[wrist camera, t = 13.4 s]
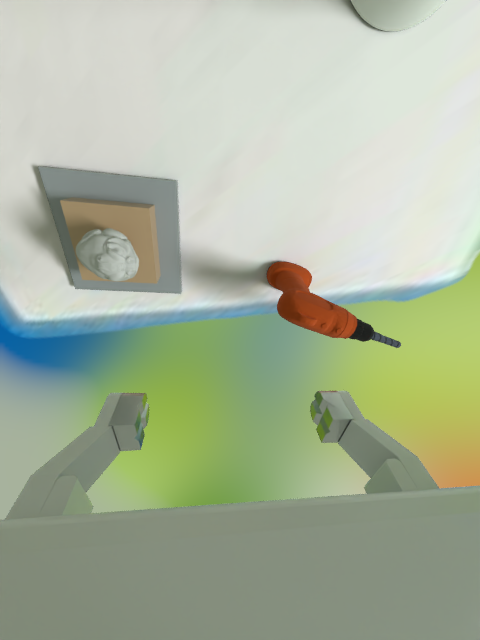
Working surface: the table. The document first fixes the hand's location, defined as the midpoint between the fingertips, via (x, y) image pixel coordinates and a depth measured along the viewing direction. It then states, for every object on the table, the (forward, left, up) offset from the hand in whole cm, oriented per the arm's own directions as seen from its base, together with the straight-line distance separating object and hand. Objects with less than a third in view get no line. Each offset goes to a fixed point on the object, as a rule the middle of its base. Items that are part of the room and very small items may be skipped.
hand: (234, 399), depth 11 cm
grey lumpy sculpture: (+1, -13, -25) cm, 28 cm away
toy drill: (+7, +16, -29) cm, 34 cm away
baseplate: (+1, -14, -29) cm, 32 cm away
